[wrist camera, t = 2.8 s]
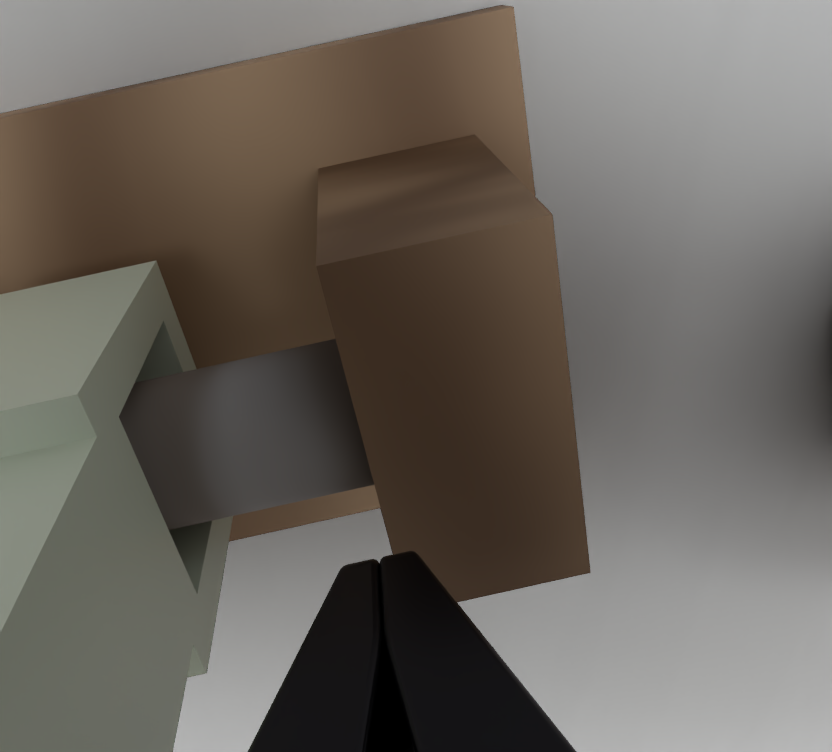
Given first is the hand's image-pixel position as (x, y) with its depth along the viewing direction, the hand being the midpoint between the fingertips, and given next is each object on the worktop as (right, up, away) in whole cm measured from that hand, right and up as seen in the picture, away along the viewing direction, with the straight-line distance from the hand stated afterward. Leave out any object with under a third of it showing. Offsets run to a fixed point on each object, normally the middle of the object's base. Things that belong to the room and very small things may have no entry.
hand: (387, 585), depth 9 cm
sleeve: (-5, +2, +6) cm, 8 cm away
